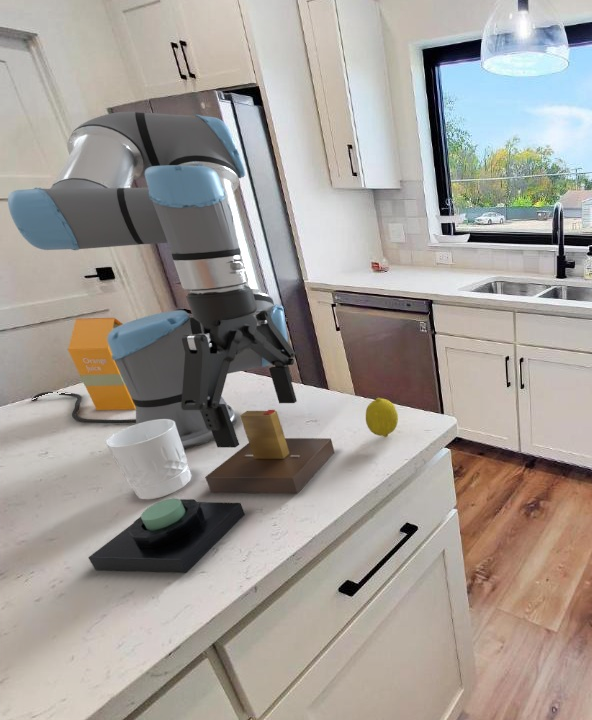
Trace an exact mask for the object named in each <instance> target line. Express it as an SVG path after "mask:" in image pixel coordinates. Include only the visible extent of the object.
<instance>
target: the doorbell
mask: <svg viewBox="0 0 592 720" xmlns="http://www.w3.org/2000/svg"><path fill="white" fill-rule="evenodd" d="M179 500H181V502H182V504H183V507H184V509H185V511H186V512H185V515H184V516H183V517H182V518H181V519H179V520H178V521H177V522H175V523H173V524H171V525H169V526H167V527H164V528H160V529H157V530H148V529H146V527H145V525H144V523H143V521H142V519H141V516H140V517H138V518H137V519H135V520H134V521H133V523H131V524H130V525H129V526H127V527H126V528H125V529H124V530H122V531H121V532H119V533H118V534H117V535H116V536H115V537H113V538H112V539H110V540H109V541H108V542H106V543H105V544H104V545H103V546H101V547H100V548H99V549H97V550H96V551H95V552H92V554H90V555H89V556H88V560H89V561H90V563H91V565H92V567H93V569H94V570H95V571H97V572H98V571H101V572H102V571H103V572H133V573H134V572H135V573H137V572H138V573H167V574H168V573H169V574H171V573H172V574H187V573H188V572H190V571H191V569H192V568H193V567H194V566H195V565H196V564H198V563H199V561H200V560H201V559H203V557H204V556H205V555H206V554H208V552H209V551H210V550H211V549H212V548H213V547H215V545H216V544H218V543H219V541H220V540H221V539H223V538H224V536H225V535H227V533H228V532H230V531H231V530H232V528H233V527H235V526H236V525H237V523H238V522H239V521H240V520H242V518H243V517H245V515H246V513H245V511H244V508H243V505H242V503H241V502H219V501H218V502H217V501H216V502H215V501H211V502H210V501H209V502H208V501H196V499H193V498H192V499H189V498H180V499H179Z"/></svg>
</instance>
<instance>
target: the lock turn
mask: <svg viewBox="0 0 592 720" xmlns="http://www.w3.org/2000/svg"><path fill="white" fill-rule="evenodd" d="M239 418H240V420H241V423H242V426H243V429H244V431H245V434H246V437H247V441H248V443H249V444H250V447H251V450H252V453H253V456H254V458H255V459H284V458H285V457H286V456H287V455H288V454H289V450H288V447H287V443H286V440H285V438H286V437H285V433H284V429H283V426H282V423H281V420H280V417H279V414H278V411H277V410H276V409H268V410H246V411H244V412H243V413H241V414H240V415H239Z"/></svg>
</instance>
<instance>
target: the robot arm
mask: <svg viewBox="0 0 592 720" xmlns="http://www.w3.org/2000/svg"><path fill="white" fill-rule="evenodd" d="M66 144H67V145H66V147H67V152H68V157H67V159H66V161H65V162H64V165H63V166H62V168H61V169H60V171H59V173H58V175H57V176H56V177H55V180H54V181H53V183H52V185H51V186H50V188H42V187H34V188H28V189H26V188H25V189H16V190H13V191H11V192H10V193H9V195H8V198H7V206H8V210H9V214H10V216H11V219H12V220H13V221H12V222H13V223H14V225H15V227H16V228H17V230H18V232H19V233H20V235H21V236H22V237H23V238H24V240H25V241H27V242H28V243H29V244H30V245H31V246H33V247H35V248H37V249H39V250H43V251H57V250H58V251H59V250H60V251H61V250H62V251H63V250H72V251H79V250H87V249H99V248H112V247H125V246H138V245H156V244H157V245H158V244H167V245H168V247H169V250H170V252H171V258H172V260H173V264H174V266H175V270H176V273H177V275H178V279H179V282H180V284H181V287H182V289H183V290H185V291H187V292H188V293H187V294H186V296H185V298H186V301H187V304H188V307H189V309H190V313H191V316H192V317H191V316H190V314H189V313H188V312H187V311H185V310H184V309H183V310H182V309H178V310H169V311H164V312H159V313H154V314H150V315H147V316H144V317H139V318H136V319H134V320H130V321H128V322H125V323H122V325H120V326H118V327H116V328H114V329H113V330H112V331H111V332H110V333H109V334H108V337H107V341H108V344H109V347H110V350H111V353H112V359H113V360H115V363H116V365H117V367H118V369H119V372H120V374H121V376H122V378H123V380H124V383H125V385H126V387H127V389H128V392H129V394H130V396H131V398H132V401H133V403H134V405H135V408H136V409H135V418H132V419H129V418H128V419H101V418H100V419H99V418H84V417H79V415H78V413H79V410H80V409H81V402H82V399H83V397H82V395H81V394H78V393H73V392H70V393H71V394H65V393H68V392H66V391H64V392H65V393H61V394H59V395H58V396H67V397H73V398H76V400H75V402H74V408H73V410H72V412H71V418H72V419H73V420H75V421H77V422H81V423H86V424H87V423H88V424H135V425H136V424H139V423H142V422H146V421H151V420H158V419H170V420H173V421H174V422H175V424H176V427H177V430H178V433H179V436H180V439H181V442H182V445H183V448H184V451H185V450H188V449H191V448H195V447H198V446H202V445H203V444H205V443H208V442H211V441H213V440H214V442H215V444H216V447H217V448H232V449H233V448H238V446H240V441H239V439H238V436H237V433H236V430H235V427H234V426H235V425H236V423H237V416H236V413H235V411H234V409H233V408H232V407H231V406H230V405H229V404H227V402H226V400H225V399H224V398H223V397H222V395H223V392H224V388H225V385H226V384H225V383H226V380H227V377H228V374H233V373H238V372H243V371H248V370H253V369H258V368H266V367H268V366H270V367H269V368H268V370H269V373H270V377H271V381H272V384H273V387H274V390H275V393H276V397H277V401H278V403H279V404H295V403H297V402H298V400H297V396H296V393H295V389H294V386H293V382H292V380H293V378H292V375H291V374H292V373H291V370H290V368H289V366H293V365H294V363H295V360H294V358H295V357H296V352H295V350H294V349H293V348H292V346H291V345H290V343H289V340H288V331H287V324H286V316H285V309H284V306H283V305H280V304H275V303H274V299H273V297H271V295H269V294H267V293H265V292H263V291H262V288H261V284H260V280H259V276H258V273H257V270H256V265H255V263H254V259H253V255H252V252H251V248H250V245H249V241H248V238H247V233H246V230H245V227H244V223H243V219H242V216H241V212H240V208H239V205H238V201H237V197H236V194H235V191H236V190H238V188H239V186H240V179H242V178H244V177H245V176H246V171H245V168H244V167H245V166H244V163H243V161H242V158H241V156H240V153H239V151H238V148H237V145H236V142H235V140H234V137H233V135H232V133H231V131H230V129H229V127H228V126H227V124H226V123H225V122H224V121H223V120H222V119H220V118H218V117H215V116H206V115H201V114H193V115H187V114H186V115H185V114H172V113H171V114H169V113H156V112H155V113H153V112H138V111H117V112H112V113H107V114H103V115H100V116H97V117H94V118H92V119H89V120H87V121H85V122H83V123H81V124H80V125H78V126H77V127H76V128H75V129H73V130H72V132H71V133H70V135H69V137H68V139H67V142H66ZM138 178H139V179H140V178H145V182H146V185H147V187H132V185H133V182H134V181H136V180H137V179H138ZM53 392H54V391H44V392H40V393H37V394H35V395H34V396H33V397H32V398H31V400H30V402H36V401H38V399H39V398H40V397H39V396H41V397H43V396H42V395H45V394H48V393H53ZM56 392H57V393H58V392H59V391H56ZM36 397H39V398H36ZM33 398H36V399H34V400H32V399H33Z"/></svg>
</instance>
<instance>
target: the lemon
mask: <svg viewBox="0 0 592 720" xmlns="http://www.w3.org/2000/svg"><path fill="white" fill-rule="evenodd" d="M398 422H399V415H398V412H397V409H396V406H395V405H394V403H392V402H391V401H390V400H389V399H386V398H381V397H376V399H374V400H372V401H371V402H370V403H369V404H368V406H367V407H366V410H365V423H366V426H367V428H368V430H369V431H370V432H371V433H373V434H374V435H376V436H380V437H384V438H386V437H388V436H389V435H390V434H391V433H393V432H394V431H395V429H396V428H397V426H398Z"/></svg>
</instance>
